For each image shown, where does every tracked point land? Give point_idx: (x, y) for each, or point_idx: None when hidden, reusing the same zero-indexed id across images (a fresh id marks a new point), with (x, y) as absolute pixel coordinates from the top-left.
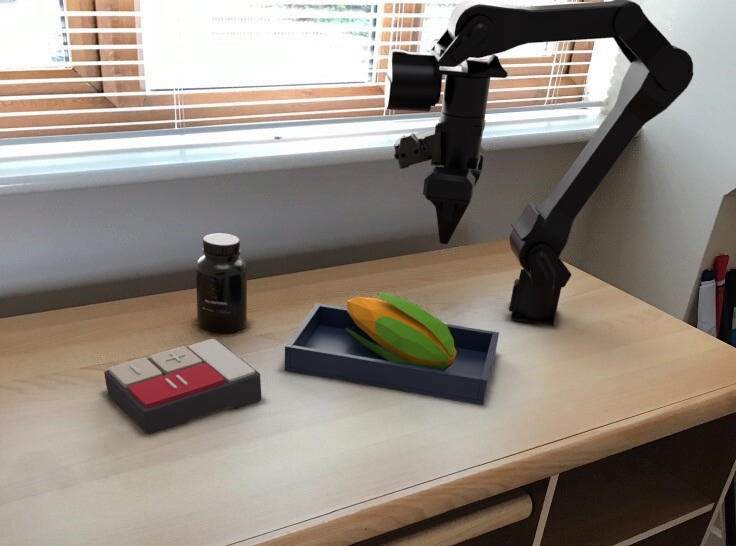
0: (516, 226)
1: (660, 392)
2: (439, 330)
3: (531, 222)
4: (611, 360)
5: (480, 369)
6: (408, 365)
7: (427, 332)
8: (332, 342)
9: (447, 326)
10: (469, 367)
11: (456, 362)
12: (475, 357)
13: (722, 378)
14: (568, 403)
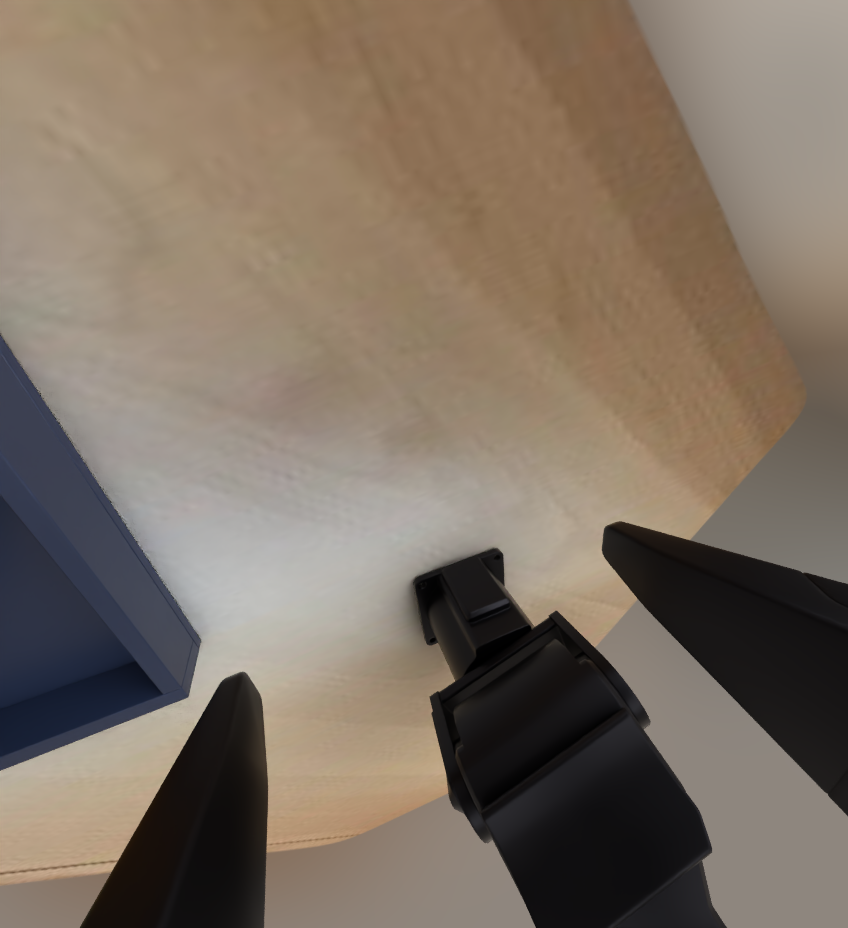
0: (594, 753)
1: (275, 823)
2: None
3: (556, 878)
4: (345, 745)
5: (51, 681)
6: None
7: None
8: None
9: (90, 604)
10: (34, 662)
11: (29, 630)
12: (116, 641)
13: (380, 821)
14: (96, 807)
